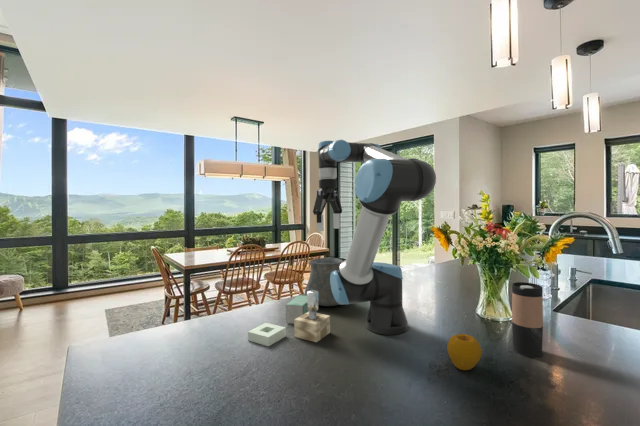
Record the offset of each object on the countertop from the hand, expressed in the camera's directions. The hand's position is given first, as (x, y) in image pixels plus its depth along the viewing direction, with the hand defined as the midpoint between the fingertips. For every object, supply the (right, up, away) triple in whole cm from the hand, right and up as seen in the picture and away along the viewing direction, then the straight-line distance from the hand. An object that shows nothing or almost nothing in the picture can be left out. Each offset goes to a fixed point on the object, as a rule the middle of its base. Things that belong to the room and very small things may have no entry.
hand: (328, 229), depth 129 cm
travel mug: (+58, -35, -37) cm, 77 cm away
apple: (+36, -35, -45) cm, 68 cm away
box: (-11, -36, -5) cm, 38 cm away
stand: (-22, -36, -24) cm, 48 cm away
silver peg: (-6, -34, -22) cm, 41 cm away
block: (-6, -35, -22) cm, 42 cm away
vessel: (0, -35, +12) cm, 37 cm away
